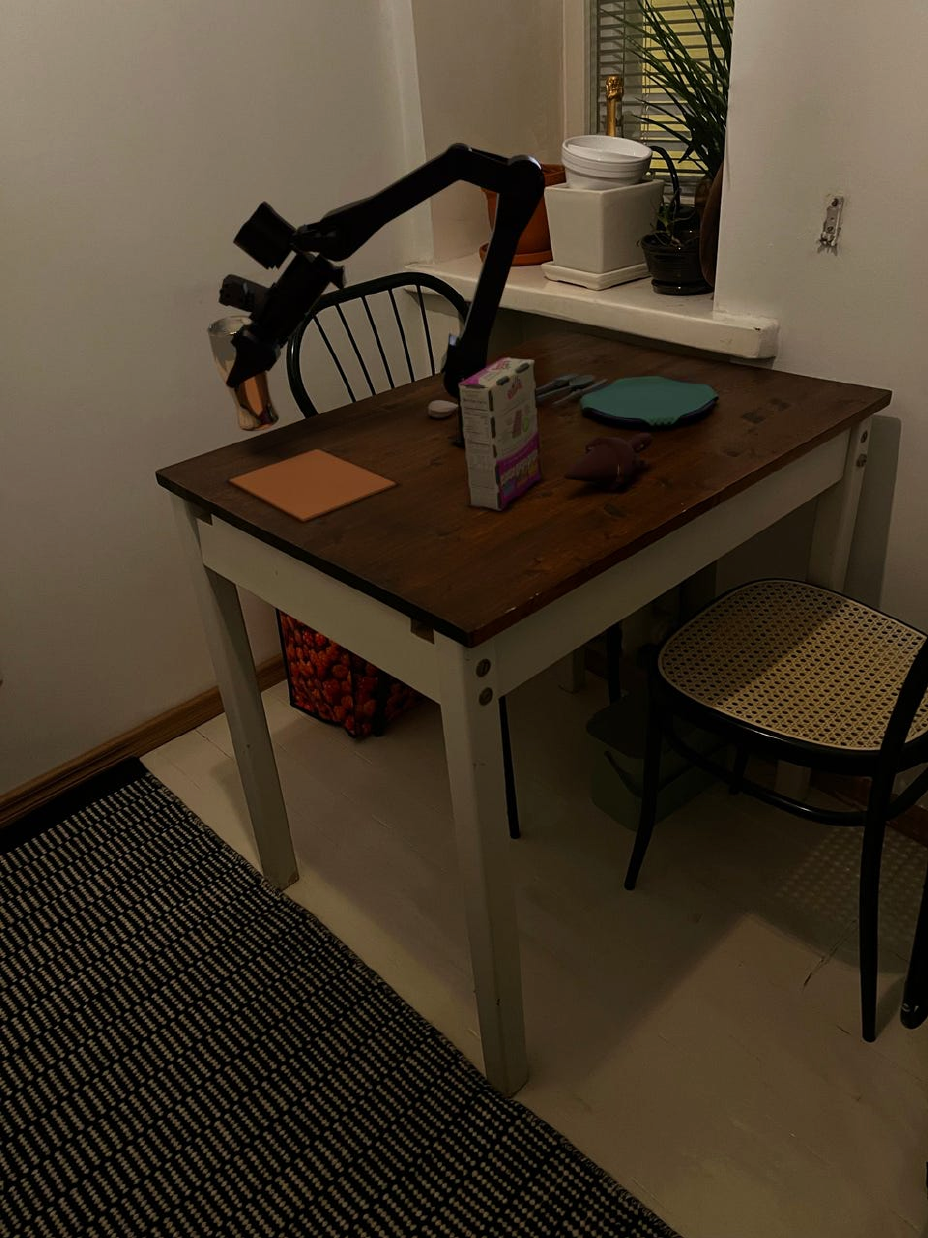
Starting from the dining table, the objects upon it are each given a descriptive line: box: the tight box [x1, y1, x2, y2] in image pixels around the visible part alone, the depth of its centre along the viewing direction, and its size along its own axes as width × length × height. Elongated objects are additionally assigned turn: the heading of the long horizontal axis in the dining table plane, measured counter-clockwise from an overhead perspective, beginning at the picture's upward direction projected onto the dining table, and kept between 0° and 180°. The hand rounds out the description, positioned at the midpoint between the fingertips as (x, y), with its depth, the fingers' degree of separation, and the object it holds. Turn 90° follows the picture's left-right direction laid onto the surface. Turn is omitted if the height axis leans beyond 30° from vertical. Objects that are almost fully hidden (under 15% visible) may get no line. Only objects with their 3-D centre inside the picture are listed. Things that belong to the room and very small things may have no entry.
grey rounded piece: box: [427, 399, 459, 419], centre depth 153 cm, size 4×5×2 cm
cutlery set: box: [536, 372, 720, 428], centre depth 151 cm, size 20×30×2 cm, turn 46°
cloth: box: [228, 448, 397, 523], centre depth 134 cm, size 20×15×1 cm
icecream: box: [562, 432, 654, 492], centre depth 123 cm, size 7×7×15 cm
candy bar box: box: [458, 356, 542, 512], centre depth 122 cm, size 11×5×16 cm, turn 148°
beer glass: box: [206, 315, 280, 432], centre depth 137 cm, size 7×7×15 cm
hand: (234, 378), depth 137 cm, fingers closed on beer glass, 7 cm apart
